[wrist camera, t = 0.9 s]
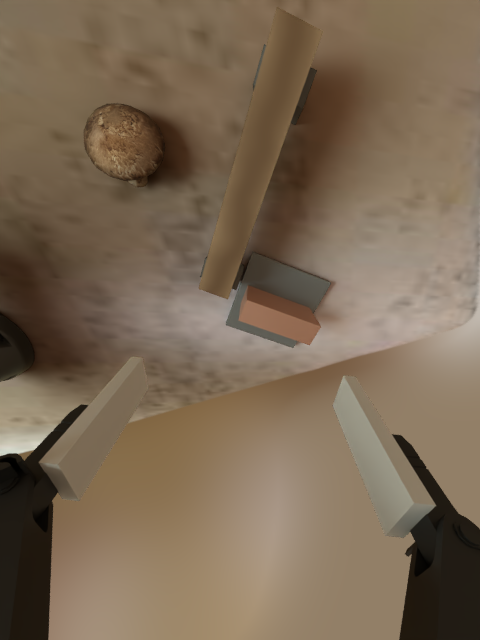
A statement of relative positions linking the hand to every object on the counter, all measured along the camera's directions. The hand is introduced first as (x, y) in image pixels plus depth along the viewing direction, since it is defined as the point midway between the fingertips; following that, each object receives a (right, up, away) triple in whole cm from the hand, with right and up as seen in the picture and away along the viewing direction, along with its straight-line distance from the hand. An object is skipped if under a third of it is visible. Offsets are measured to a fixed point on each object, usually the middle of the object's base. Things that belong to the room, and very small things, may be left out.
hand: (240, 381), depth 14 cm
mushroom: (-12, +24, +11) cm, 30 cm away
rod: (+1, +18, +9) cm, 20 cm away
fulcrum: (+5, +7, +19) cm, 21 cm away
